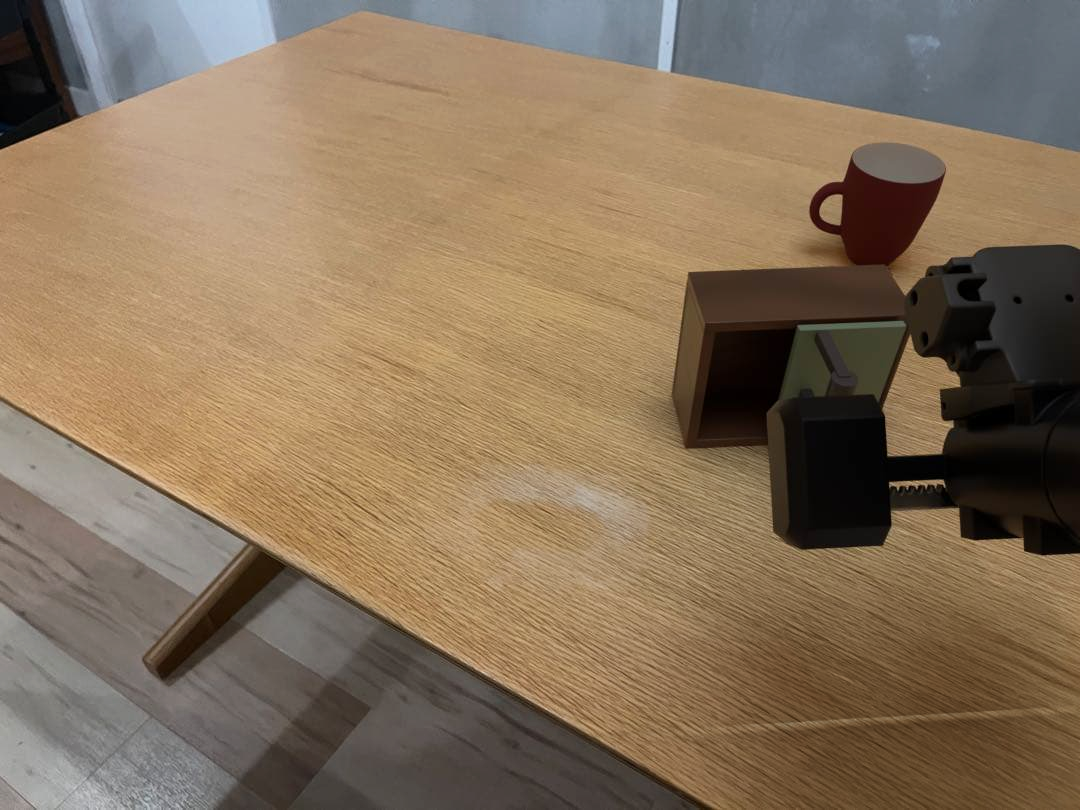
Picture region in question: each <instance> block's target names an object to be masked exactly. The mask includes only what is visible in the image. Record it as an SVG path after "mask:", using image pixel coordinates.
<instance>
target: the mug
mask: <svg viewBox="0 0 1080 810" xmlns="http://www.w3.org/2000/svg"><path fill="white" fill-rule="evenodd" d="M848 162H849V163H848V167H847V168H846V172H845V175H844V178H843V181H832V182H828V183H827V184H824V185H823V186H821V187H820V188H819V189H818V190H817V191H816V192H815V193H814V195H813V196H812V198H811V199H810V203H809V207H808V208H809V211H808V213H809V219H810V221H811V222H812V224H813V225H814V227H816V228H817V229H818V230H820V231H822V232H824V233H826V234H831V235H835V236H840V239H841V241H842V244H843V247H844V250H845V254H846V256H847V259H848V260H849V261H850V263H852V264H854V266H856V265H882V264H884V265H885V266H886V267H887V268H888V267H889V266H890V265H891V264H892V263H893V262H895V261H896V260H897V259H899V257H901V256H902V255H903V254H904V252H906V251H907V250H908V248H909V247H910V246H911V245H912V243H913V242H914V241H915V239H916V237H917V235H918V233H919V231H920V229H922V226H923V224H924V223H925V222H926V219H927V218H928V216H929V214H930V212H931V211H932V208H933V207H934V205H935V203H936V201H937V199H938V197H939V194H940V191H941V189H942V185H943V183H944V179H945V176H946V172H947V167H946V164H945V163H944V161H943V160H942V159H941V158H940V157H938V156H937V155H936V154H934V153H932V152H931V151H928V150H926V149H924V148H921V147H917V146H915V145H909V144H905V143H900V142H873V143H867V144H865V145H861V146H859V147H858V148H855V149H854V150H853V152H852V154H851V156H850V159H849V161H848ZM837 195H838V196H839V195H841V196H842V201H841V214H840V215H841V216H840V224H834V223H831V222H828V221H825V220H824V219H823V218H822V217H821V213H820V209H821V207H822V204H823V203H824V202H825V200H826V199H828V198H829V197H831V196H837Z"/></svg>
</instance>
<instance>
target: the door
mask: <svg viewBox="0 0 1080 810" xmlns="http://www.w3.org/2000/svg"><path fill="white" fill-rule="evenodd" d="M905 329H906V325H905V323H904V321H887V322H863V323H838V324H813V325H798V326H797V329H796V333H795V337H794V341H793V345H792V349H791V353H790V357H789V360H788V364H787V368H786V372H785V376H784V380H783V384H782V388H781V392H780V396H779V400H780V399H786V398H793V397H817V396H840V395H863V394H874V396H875V397H876V399H877V401H878V402H879V399H880V397H881V394H882V391H883V388H884V386H885V383H886V380H887V378H888V375H889V372H890V369H891V367H892V364H893V361H894V359H895V356H896V353H897V350H898V348H899V345H900V342H901V339H902V337H903V334H904V331H905Z"/></svg>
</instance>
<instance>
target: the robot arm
mask: <svg viewBox="0 0 1080 810" xmlns="http://www.w3.org/2000/svg"><path fill="white" fill-rule="evenodd" d="M905 296H906V297H905V303H904V311H905V315H906V319H907V323H908V327H909V331H910V339H911V342H912V346H913V349H914V352H915V353H916V354H917V355H918V356H920V357H921V358H923V359H924V358H926V359H927V358H938V359H941V360H942V361H944V362H945V365H946V367H947V369H948V371H949V372H951V373H956V375H957V376H958V379H959V386H956V387H947V388H940V389H939V397H940V398H939V400H940V401H939V402H940V417H941V419H942V421H944V422H952V423H953V427H951V428H950V429H948V431H947V434H946V436H945V439H944V441H943V445H942V450H941V453H925V454H906V455H905V454H904V455H903V454H902V455H888V443H887V442H888V439H887V426H886V425H887V424H886V414H885V413H884V411H883V408H882V409H881V407H880V405H879V403H878V401H877V399H876V397H875V396H874V394H863V395H840V396H817V397H793V398H786V399H780V400H778V401H777V402H776V403H775V404H774V405H773V407H772V408H771V409H770V410H769V411H768V412H767V429H768V444H767V446H768V463H769V480H770V481H769V482H770V500H771V518H772V520H771V521H772V532H773V533H774V534H775V535H776V536H778V538H779V539H781V541H783V542H784V543H785V544H786V545H788V546H791V547H793V548H796V549H799V550H801V551H805V550H806V551H807V550H828V549H846V548H869V547H883V546H884V545H885V542H886V540H887V537H888V536H889V533H890V531H891V529H892V526H893V525H892V524H893V523H892V512H907V511H908V512H909V511H924V510H925V511H927V510H928V511H929V510H946V509H947V510H949V509H950V510H951V509H958V515H959V516H958V517H959V531H960V538H961V539H967V540H971V541H992V540H1010V539H1011V540H1013V539H1022V541H1023V552H1025V553H1030V554H1033V555H1038V556H1060V555H1061V556H1063V555H1079V554H1080V248H1078V247H1076V246H1073V245H1070V244H1035V245H1034V244H1033V245H1009V246H1008V245H1006V246H987V247H983V248H981V249H979V250H977V251H976V252H974V254H973V255H971V256H953V257H950V259H948V260H947V262H946V263H944V264H939V265H929V266H928V267H927V269H926V270H925V273H924V276H923V277H920V278H919V279H918V280H917V281H916V283H914V285H912V287H911V288H910V290H908V292H907V293H906V294H905ZM920 481H921V482H922V481H943V483H944V484H943V483H936V485H934V484H927V486H925V484H917V487H916V485H912V484H910V485H908V488H907V486H906V485H899V487H898V486H894V485H891V486H890V483H900V482H920ZM897 487H898V488H897Z"/></svg>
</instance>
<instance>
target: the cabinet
mask: <svg viewBox="0 0 1080 810" xmlns="http://www.w3.org/2000/svg"><path fill="white" fill-rule="evenodd" d="M905 297H906V294H905V293H904V292H903V290H902V289H901V288H900V286H899V284H898V283H897V281H896V280H895V277H894V276H893V275H892V273H891V272H890V271H889V269H888V266H887V267H886V266H885V265H884V264H882V265H835V266H834V265H833V266H832V265H831V266H811V267H810V266H806V267H783V268H782V267H780V268H777V267H776V268H758V269H757V268H756V269H755V268H753V269H751V268H750V269H730V270H729V269H728V270H724V269H723V270H702V271H701V270H700V271H699V270H698V271H688V272H687V277H686V284H685V291H684V299H683V306H682V315H681V320H680V321H681V322H680V329H679V337H678V343H677V352H676V358H675V367H674V373H673V380H672V381H673V382H672V388H671V397H672V402H673V406H674V409H675V413H676V417H677V421H678V425H679V428H680V432H681V436H682V441H683V444H684V448H685V449H697V448H699V449H700V448H718V447H720V448H721V447H722V448H723V447H741V446H744V447H745V446H763V445H764V446H765V445H767V446H768V429H767V412H768V411H769V410H770V409H771V408H772V407H773V405H774V404H775V403H776V402H777V401H778V400H779V396H780V392H781V388H782V384H783V380H784V376H785V372H786V368H787V364H788V360H789V357H790V353H791V349H792V345H793V341H794V337H795V333H796V329H797V326H798V325H813V324H838V323H863V322H887V321H904V323H905V325H906V329H905V331H904V334H903V337H902V339H901V342H900V345H899V348H898V350H897V353H896V356H895V359H894V361H893V364H892V367H891V369H890V372H889V375H888V378H887V380H886V383H885V386H884V388H883V391H882V394H881V397H880V399H879V402H878V403H879V405H880V407H881V409H882V410H883V408H884V405H885V403H886V400H887V398H888V395H889V392H890V389H891V387H892V384H893V382H894V379H895V377H896V375H897V371H898V368H899V365H900V363H901V361H902V357H903V355H904V352H905V349H906V346H907V344H908V342H909V340H910V337H911V335H910V331H909V327H908V323H907V319H906V315H905V311H904V303H905Z"/></svg>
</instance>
